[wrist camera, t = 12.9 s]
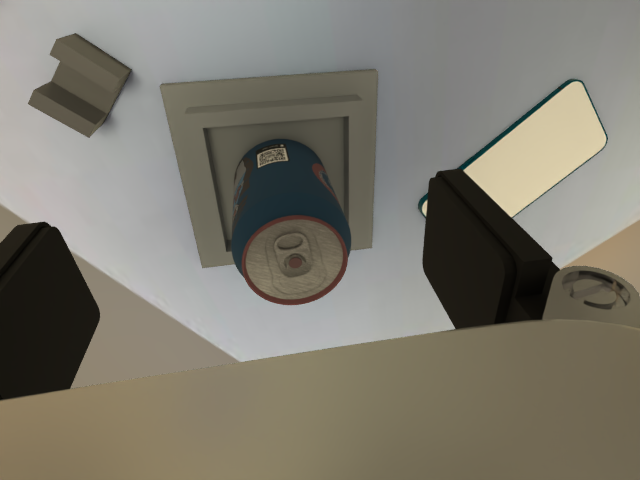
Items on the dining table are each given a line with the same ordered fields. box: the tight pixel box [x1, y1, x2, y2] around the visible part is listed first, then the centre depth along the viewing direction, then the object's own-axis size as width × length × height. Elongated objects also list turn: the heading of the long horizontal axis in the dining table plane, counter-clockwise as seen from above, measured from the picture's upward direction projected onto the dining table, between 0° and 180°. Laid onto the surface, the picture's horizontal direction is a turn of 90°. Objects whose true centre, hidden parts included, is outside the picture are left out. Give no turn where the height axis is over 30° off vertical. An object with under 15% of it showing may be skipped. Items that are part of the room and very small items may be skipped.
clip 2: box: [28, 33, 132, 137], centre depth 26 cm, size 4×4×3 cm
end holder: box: [160, 69, 378, 268], centre depth 32 cm, size 15×15×3 cm
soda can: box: [231, 139, 351, 305], centre depth 27 cm, size 7×7×12 cm
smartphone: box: [418, 79, 608, 218], centre depth 36 cm, size 8×1×16 cm
